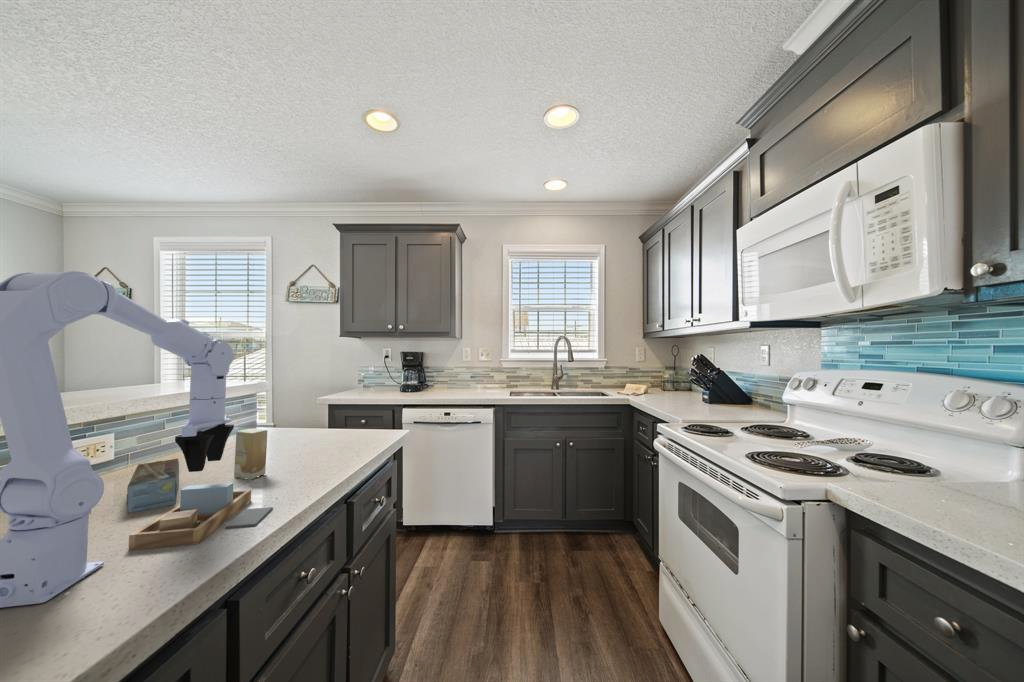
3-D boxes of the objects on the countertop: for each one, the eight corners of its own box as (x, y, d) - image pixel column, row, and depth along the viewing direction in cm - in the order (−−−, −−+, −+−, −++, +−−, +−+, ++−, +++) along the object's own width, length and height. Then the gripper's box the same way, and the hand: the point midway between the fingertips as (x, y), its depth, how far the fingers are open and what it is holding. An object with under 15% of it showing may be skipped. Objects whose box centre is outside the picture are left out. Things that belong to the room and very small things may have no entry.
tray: (198, 543, 65) (198, 529, 65) (128, 550, 62) (129, 535, 63) (250, 500, 84) (251, 489, 84) (198, 504, 81) (199, 493, 82)
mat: (255, 525, 71) (255, 523, 71) (225, 528, 70) (225, 526, 70) (272, 509, 79) (272, 507, 79) (245, 511, 78) (245, 509, 78)
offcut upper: (190, 528, 66) (190, 516, 67) (159, 532, 65) (159, 520, 65) (197, 520, 70) (197, 509, 70) (167, 524, 68) (168, 513, 68)
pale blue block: (226, 517, 75) (227, 486, 76) (179, 521, 74) (180, 489, 74) (232, 512, 78) (233, 482, 78) (187, 515, 76) (188, 485, 76)
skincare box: (233, 477, 99) (234, 431, 100) (248, 472, 103) (250, 428, 104) (251, 480, 97) (252, 432, 98) (266, 475, 102) (268, 429, 102)
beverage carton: (124, 515, 77) (125, 482, 77) (135, 489, 91) (136, 462, 92) (176, 505, 82) (177, 474, 82) (179, 482, 97) (180, 456, 97)
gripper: (214, 401, 71) (212, 474, 71) (244, 394, 85) (242, 455, 85) (169, 402, 69) (166, 478, 69) (207, 395, 83) (205, 457, 83)
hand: (205, 465), depth 76 cm, fingers open, 7 cm apart
